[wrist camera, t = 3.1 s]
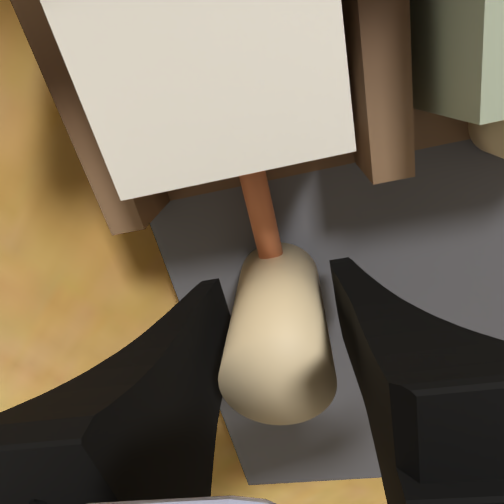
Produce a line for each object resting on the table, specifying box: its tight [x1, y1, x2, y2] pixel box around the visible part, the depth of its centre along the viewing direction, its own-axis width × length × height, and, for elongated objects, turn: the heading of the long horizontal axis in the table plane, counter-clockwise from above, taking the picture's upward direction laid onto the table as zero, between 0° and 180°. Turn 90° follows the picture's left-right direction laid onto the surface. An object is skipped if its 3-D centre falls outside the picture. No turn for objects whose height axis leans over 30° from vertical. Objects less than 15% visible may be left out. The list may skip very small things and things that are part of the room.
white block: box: [40, 0, 356, 425], centre depth 9 cm, size 11×5×5 cm, turn 13°
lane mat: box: [150, 139, 504, 485], centre depth 15 cm, size 16×15×1 cm
